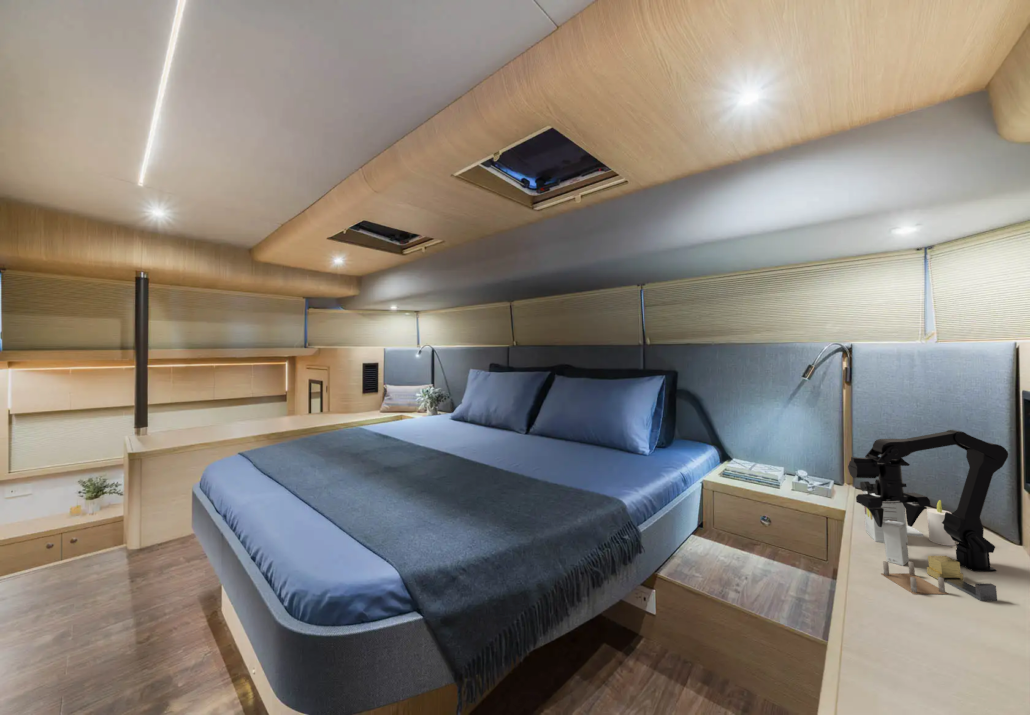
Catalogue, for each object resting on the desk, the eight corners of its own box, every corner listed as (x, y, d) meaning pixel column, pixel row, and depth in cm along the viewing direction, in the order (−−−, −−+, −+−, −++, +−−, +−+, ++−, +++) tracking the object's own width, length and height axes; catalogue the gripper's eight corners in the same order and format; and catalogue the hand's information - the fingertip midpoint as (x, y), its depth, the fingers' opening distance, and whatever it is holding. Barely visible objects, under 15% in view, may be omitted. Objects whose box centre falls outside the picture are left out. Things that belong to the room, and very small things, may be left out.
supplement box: (865, 531, 151) (861, 487, 152) (896, 535, 147) (892, 489, 148) (875, 542, 143) (871, 495, 143) (909, 545, 139) (904, 497, 139)
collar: (949, 573, 119) (948, 555, 120) (963, 580, 115) (961, 562, 116) (927, 573, 120) (925, 555, 120) (940, 580, 116) (938, 562, 116)
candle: (942, 537, 143) (938, 496, 144) (960, 545, 137) (956, 501, 138) (923, 537, 144) (919, 496, 145) (940, 545, 138) (937, 502, 138)
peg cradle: (912, 574, 121) (911, 560, 121) (948, 594, 110) (947, 579, 110) (881, 574, 121) (880, 560, 122) (913, 594, 111) (912, 579, 111)
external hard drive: (870, 526, 157) (910, 529, 153) (881, 535, 149) (923, 537, 145) (870, 522, 157) (909, 525, 153) (881, 530, 149) (923, 533, 145)
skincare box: (904, 566, 125) (900, 527, 126) (885, 561, 129) (882, 523, 129) (909, 560, 129) (906, 522, 129) (891, 555, 132) (888, 519, 133)
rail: (944, 573, 120) (942, 560, 120) (997, 601, 106) (995, 585, 106) (929, 573, 120) (928, 560, 121) (981, 601, 106) (979, 585, 106)
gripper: (899, 471, 137) (903, 516, 136) (842, 473, 139) (846, 518, 138) (929, 480, 126) (934, 529, 125) (867, 482, 128) (872, 530, 127)
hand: (894, 526), depth 129 cm, fingers open, 9 cm apart
